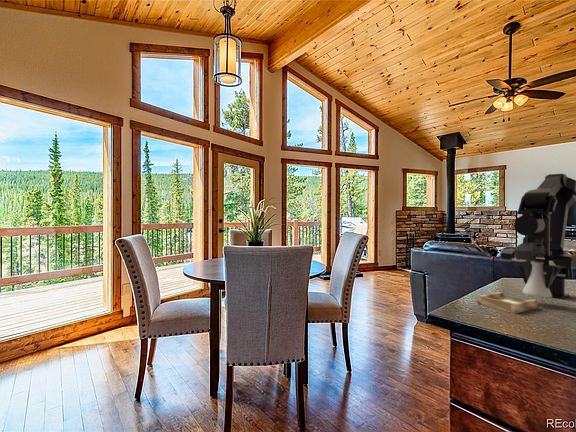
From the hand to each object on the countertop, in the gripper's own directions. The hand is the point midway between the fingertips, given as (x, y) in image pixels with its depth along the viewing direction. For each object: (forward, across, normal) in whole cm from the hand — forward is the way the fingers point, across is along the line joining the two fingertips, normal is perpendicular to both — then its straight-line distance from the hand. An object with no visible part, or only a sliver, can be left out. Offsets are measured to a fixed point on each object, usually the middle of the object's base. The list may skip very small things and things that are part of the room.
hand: (537, 286), depth 99 cm
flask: (+3, 0, 0) cm, 3 cm away
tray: (+5, -3, -10) cm, 12 cm away
